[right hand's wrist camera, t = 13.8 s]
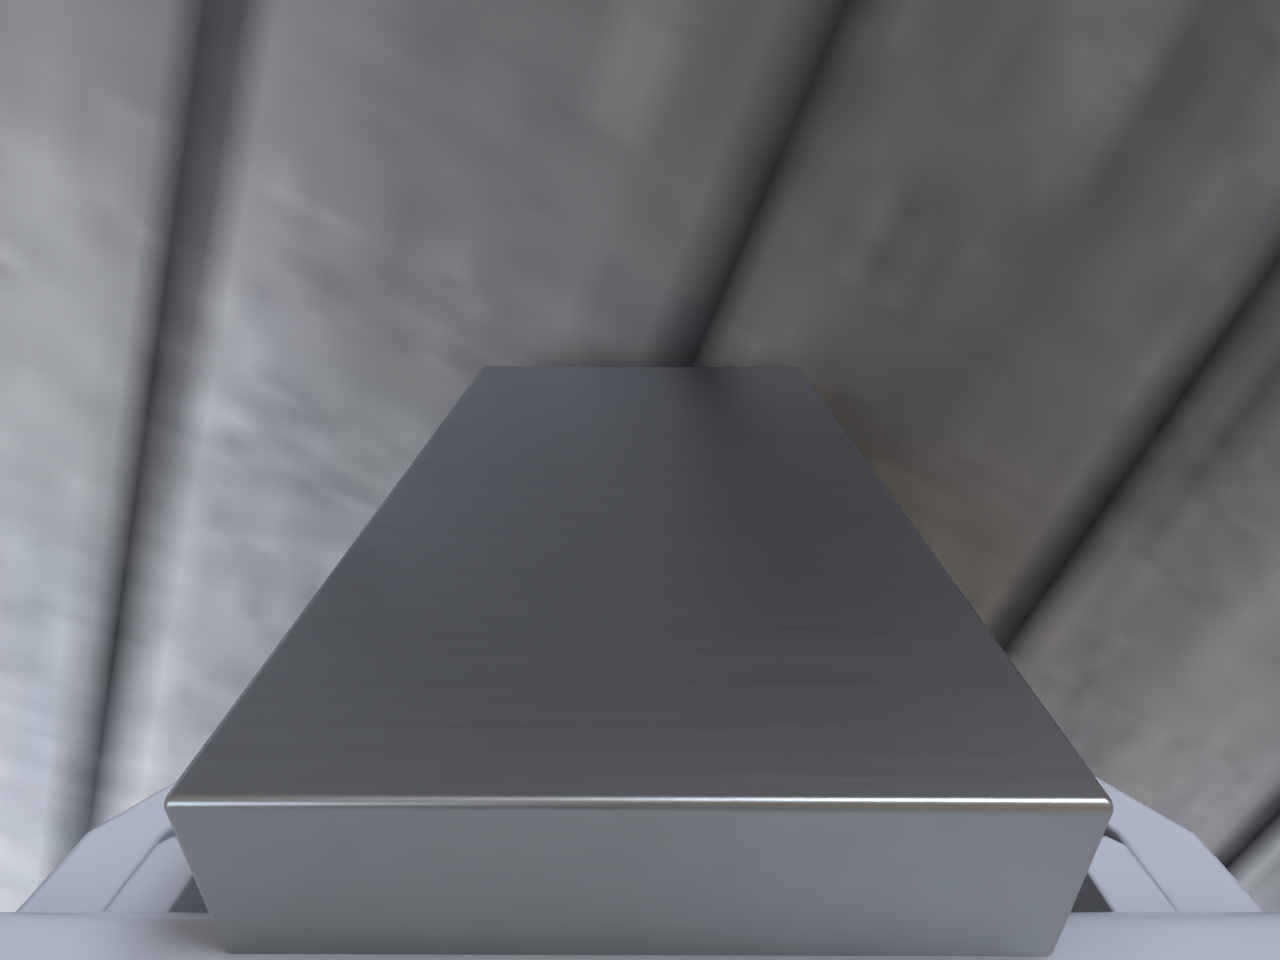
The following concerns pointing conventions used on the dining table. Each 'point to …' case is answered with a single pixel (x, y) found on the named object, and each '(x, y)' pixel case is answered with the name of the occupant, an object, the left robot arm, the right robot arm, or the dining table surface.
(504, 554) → the box
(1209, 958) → the right robot arm
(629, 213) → the dining table surface
